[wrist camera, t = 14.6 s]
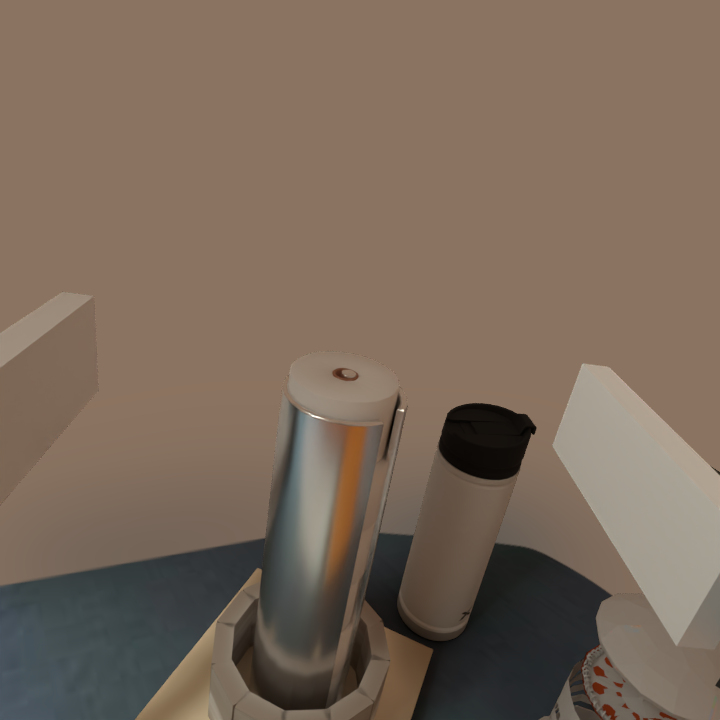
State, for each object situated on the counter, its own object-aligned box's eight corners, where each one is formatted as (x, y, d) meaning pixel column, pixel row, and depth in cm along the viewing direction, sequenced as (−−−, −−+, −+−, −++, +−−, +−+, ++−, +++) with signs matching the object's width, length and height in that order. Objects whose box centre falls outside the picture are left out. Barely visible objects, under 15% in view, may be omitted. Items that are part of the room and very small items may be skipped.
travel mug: (479, 643, 46) (552, 444, 37) (404, 643, 44) (461, 438, 36) (458, 583, 51) (518, 399, 43) (390, 582, 50) (438, 392, 42)
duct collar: (117, 756, 34) (114, 689, 31) (256, 580, 48) (262, 523, 45) (351, 904, 29) (371, 840, 27) (429, 662, 43) (447, 604, 40)
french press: (488, 733, 39) (610, 441, 28) (611, 695, 43) (756, 429, 33) (581, 910, 31) (799, 590, 20) (721, 841, 35) (961, 549, 25)
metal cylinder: (258, 753, 34) (303, 408, 24) (241, 659, 39) (271, 345, 29) (354, 725, 36) (434, 402, 26) (326, 640, 42) (382, 345, 31)
